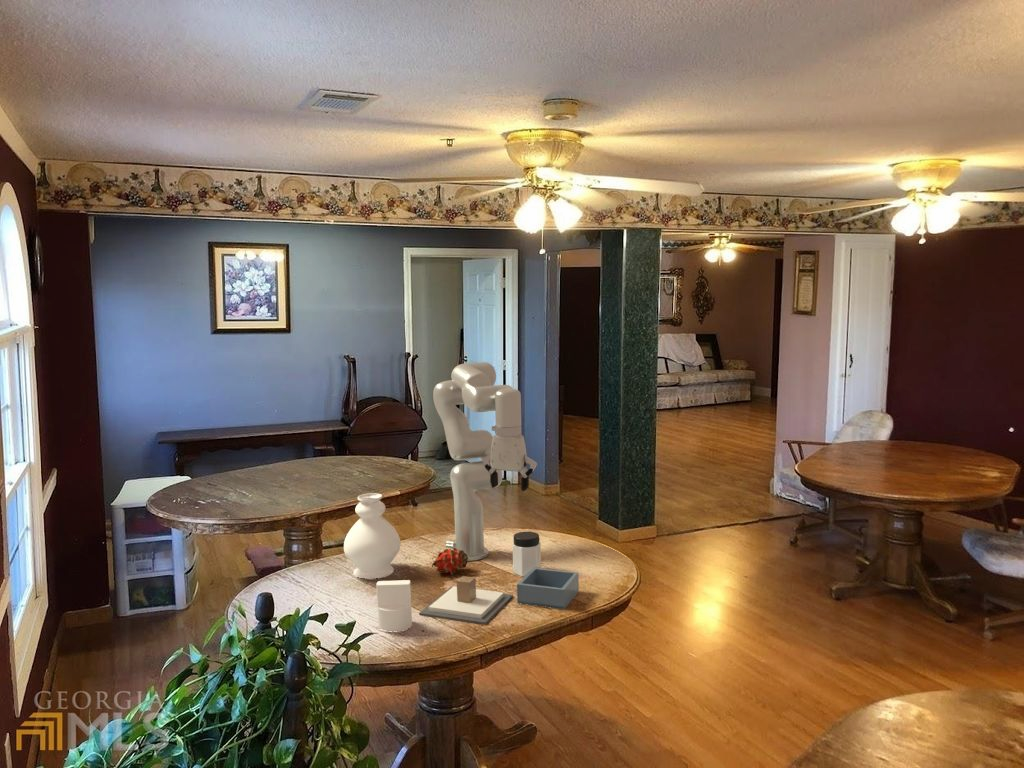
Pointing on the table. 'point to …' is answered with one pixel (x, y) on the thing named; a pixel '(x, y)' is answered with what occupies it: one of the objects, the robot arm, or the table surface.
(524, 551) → the jar
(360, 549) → the decorative vase
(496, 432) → the robot arm
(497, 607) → the mat
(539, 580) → the open square box
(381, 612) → the cylinder with rectangular tab
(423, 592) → the table surface
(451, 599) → the lid
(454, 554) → the dragon fruit
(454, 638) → the table surface
